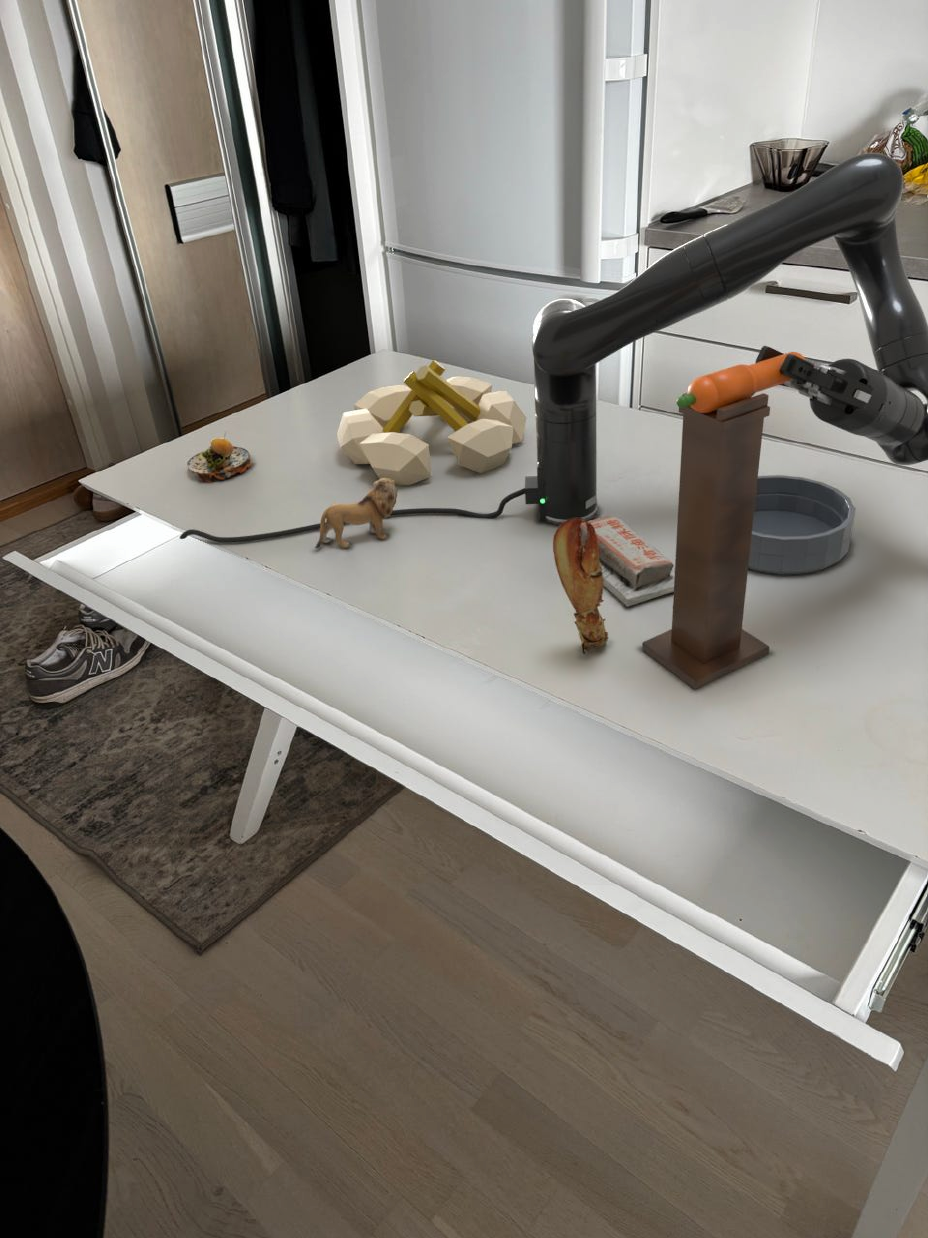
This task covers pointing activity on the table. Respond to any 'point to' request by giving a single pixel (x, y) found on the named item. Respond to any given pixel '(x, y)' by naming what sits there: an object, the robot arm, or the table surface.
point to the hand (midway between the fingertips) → (773, 359)
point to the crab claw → (581, 579)
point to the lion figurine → (360, 512)
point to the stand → (714, 544)
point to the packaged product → (630, 562)
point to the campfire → (428, 394)
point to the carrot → (734, 384)
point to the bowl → (798, 525)
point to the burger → (219, 460)
